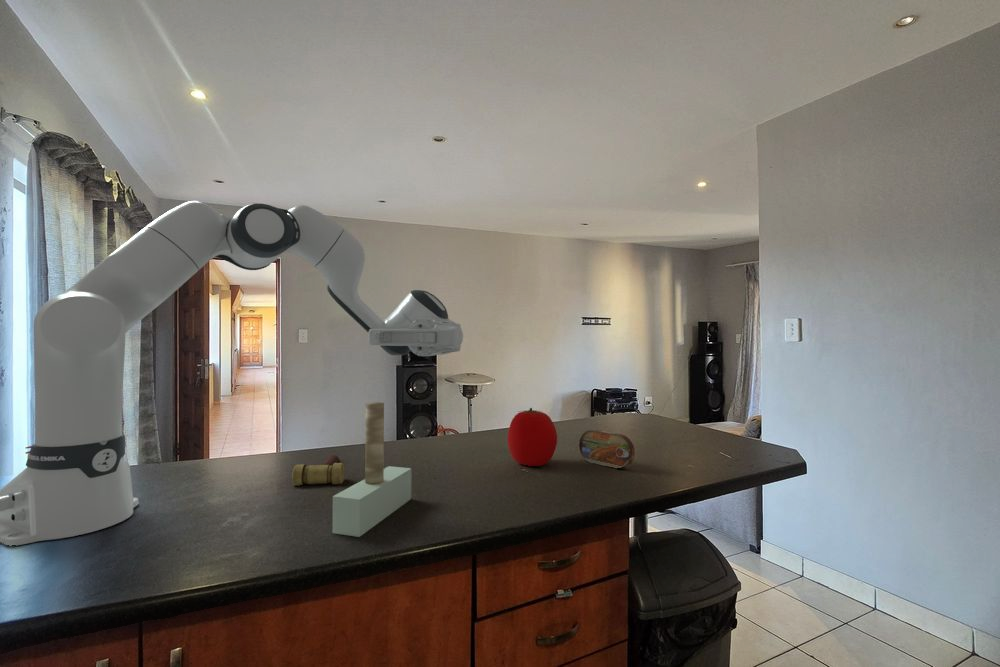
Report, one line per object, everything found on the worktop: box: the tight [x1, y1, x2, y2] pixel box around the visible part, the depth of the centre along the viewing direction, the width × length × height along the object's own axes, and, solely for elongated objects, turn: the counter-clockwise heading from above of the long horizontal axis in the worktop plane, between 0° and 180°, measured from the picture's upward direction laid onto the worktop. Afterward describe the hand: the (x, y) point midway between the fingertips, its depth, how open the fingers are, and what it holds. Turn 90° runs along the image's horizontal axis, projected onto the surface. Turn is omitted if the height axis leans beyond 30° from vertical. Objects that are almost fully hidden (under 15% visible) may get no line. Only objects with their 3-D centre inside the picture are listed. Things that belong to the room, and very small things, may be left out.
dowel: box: [364, 401, 385, 485], centre depth 83 cm, size 3×3×14 cm
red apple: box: [507, 407, 558, 467], centre depth 117 cm, size 13×11×14 cm
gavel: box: [291, 454, 346, 487], centre depth 109 cm, size 21×5×10 cm
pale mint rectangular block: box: [331, 465, 412, 538], centre depth 84 cm, size 5×18×6 cm, turn 164°
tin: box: [578, 429, 636, 468], centre depth 116 cm, size 15×3×8 cm, turn 43°
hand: (397, 337), depth 95 cm, fingers open, 8 cm apart
